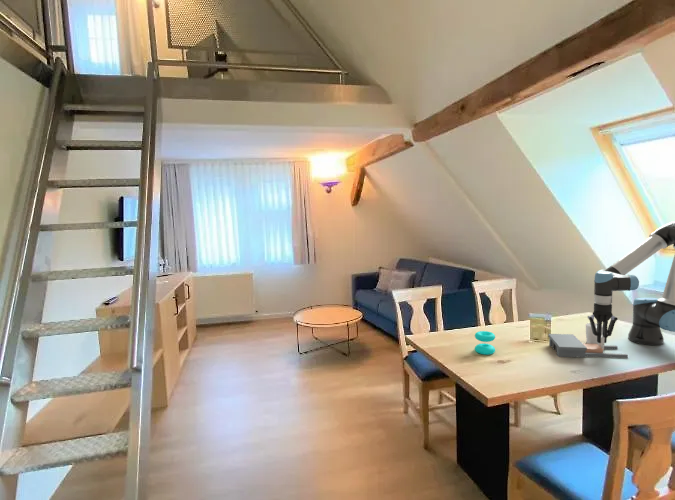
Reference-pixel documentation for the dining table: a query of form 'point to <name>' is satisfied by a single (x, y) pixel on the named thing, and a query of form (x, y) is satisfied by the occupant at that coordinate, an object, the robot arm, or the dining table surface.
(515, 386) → the dining table surface
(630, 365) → the dining table surface
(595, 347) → the salmon pink tile
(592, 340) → the white cup
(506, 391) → the dining table surface
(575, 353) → the overhang dock
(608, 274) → the robot arm
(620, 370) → the dining table surface
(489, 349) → the donuts
